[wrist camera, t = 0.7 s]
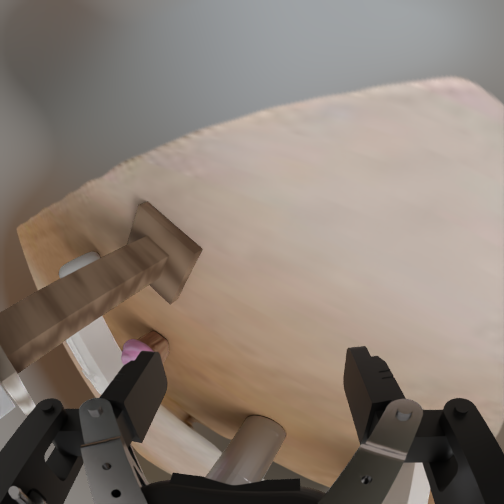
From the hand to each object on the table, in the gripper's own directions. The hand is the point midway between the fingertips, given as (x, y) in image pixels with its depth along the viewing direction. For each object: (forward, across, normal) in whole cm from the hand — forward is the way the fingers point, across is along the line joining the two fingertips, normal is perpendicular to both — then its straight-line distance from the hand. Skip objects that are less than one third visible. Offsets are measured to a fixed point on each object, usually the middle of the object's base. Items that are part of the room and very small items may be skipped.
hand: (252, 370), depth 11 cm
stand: (+33, -17, -2) cm, 37 cm away
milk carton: (+20, +29, -47) cm, 59 cm away
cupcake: (+39, -22, -22) cm, 50 cm away
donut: (+42, -36, -5) cm, 56 cm away
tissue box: (+50, -45, -32) cm, 75 cm away
